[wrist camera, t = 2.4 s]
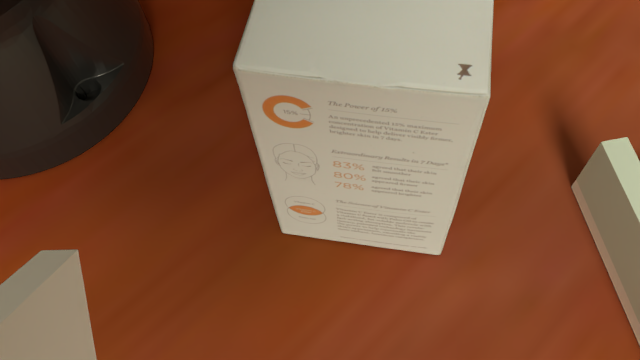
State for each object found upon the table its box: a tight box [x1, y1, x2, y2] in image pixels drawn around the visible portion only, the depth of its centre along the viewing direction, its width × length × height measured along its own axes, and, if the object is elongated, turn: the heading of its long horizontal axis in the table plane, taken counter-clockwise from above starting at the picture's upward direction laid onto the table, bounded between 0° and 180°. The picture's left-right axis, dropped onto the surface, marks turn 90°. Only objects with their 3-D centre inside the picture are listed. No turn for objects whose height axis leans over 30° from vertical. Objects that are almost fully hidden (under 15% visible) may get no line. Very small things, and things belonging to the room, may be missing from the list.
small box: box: [233, 0, 494, 255], centre depth 26 cm, size 8×6×13 cm
